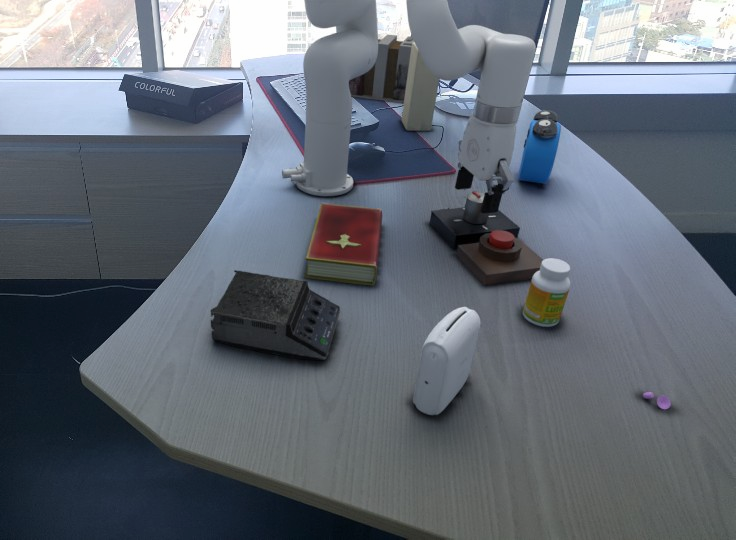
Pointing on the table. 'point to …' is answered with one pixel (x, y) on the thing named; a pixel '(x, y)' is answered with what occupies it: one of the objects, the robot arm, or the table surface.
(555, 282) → the supplement bottle
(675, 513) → the table surface
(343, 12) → the robot arm
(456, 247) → the control panel
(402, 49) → the bookend
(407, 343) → the table surface
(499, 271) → the button block
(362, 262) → the hardcover book
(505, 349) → the table surface
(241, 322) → the electronic device
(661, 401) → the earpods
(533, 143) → the alarm clock
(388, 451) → the table surface
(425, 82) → the toy refrigerator
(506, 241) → the button
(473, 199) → the timer knob
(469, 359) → the photo printer
